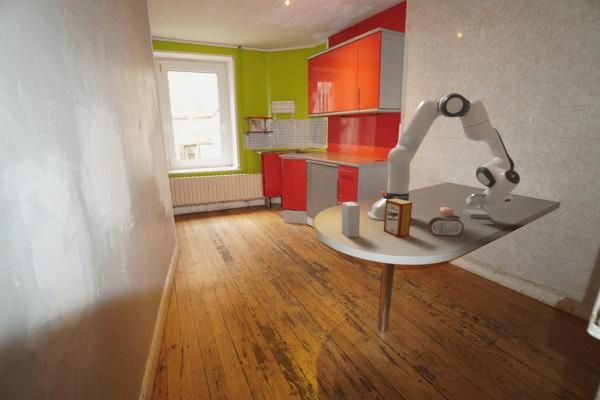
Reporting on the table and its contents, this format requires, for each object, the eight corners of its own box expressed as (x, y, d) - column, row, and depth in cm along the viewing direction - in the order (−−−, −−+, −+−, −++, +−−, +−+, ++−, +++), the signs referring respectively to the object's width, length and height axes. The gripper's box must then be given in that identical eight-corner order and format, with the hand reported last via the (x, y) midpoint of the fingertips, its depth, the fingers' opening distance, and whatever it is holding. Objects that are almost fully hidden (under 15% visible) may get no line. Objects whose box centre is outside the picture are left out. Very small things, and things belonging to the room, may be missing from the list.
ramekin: (442, 216, 159) (443, 210, 158) (437, 213, 166) (438, 206, 165) (455, 217, 159) (456, 210, 158) (449, 213, 165) (450, 206, 164)
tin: (460, 234, 132) (462, 217, 130) (463, 237, 129) (466, 219, 127) (426, 233, 133) (428, 216, 131) (429, 235, 130) (431, 218, 128)
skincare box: (359, 237, 128) (361, 205, 124) (346, 238, 127) (348, 206, 123) (352, 230, 136) (353, 200, 132) (340, 231, 135) (341, 201, 131)
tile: (470, 213, 156) (462, 209, 165) (470, 218, 157) (461, 214, 166) (489, 214, 156) (480, 209, 165) (488, 219, 157) (479, 214, 165)
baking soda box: (383, 231, 136) (386, 198, 132) (393, 229, 139) (396, 197, 135) (398, 237, 127) (402, 203, 124) (408, 235, 131) (412, 201, 127)
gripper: (474, 199, 143) (462, 212, 155) (516, 200, 142) (501, 213, 154) (471, 188, 146) (459, 202, 158) (512, 189, 145) (497, 203, 157)
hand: (480, 207), depth 156 cm, fingers closed
